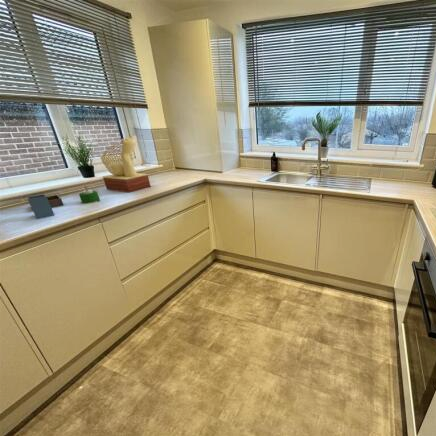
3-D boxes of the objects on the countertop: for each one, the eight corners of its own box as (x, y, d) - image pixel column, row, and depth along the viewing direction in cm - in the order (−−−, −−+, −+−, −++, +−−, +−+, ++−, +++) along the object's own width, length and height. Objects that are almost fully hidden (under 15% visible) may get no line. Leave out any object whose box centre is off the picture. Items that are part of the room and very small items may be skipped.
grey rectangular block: (36, 219, 116) (27, 199, 112) (35, 216, 120) (26, 197, 116) (54, 215, 120) (46, 196, 117) (52, 212, 124) (44, 194, 120)
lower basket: (33, 212, 125) (29, 204, 123) (31, 207, 132) (27, 199, 131) (64, 206, 134) (61, 198, 132) (60, 202, 141) (57, 194, 139)
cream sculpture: (152, 186, 171) (139, 135, 158) (128, 193, 156) (112, 136, 143) (129, 184, 180) (115, 135, 167) (104, 190, 165) (86, 136, 152)
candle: (82, 201, 141) (76, 185, 137) (99, 198, 145) (94, 182, 142) (81, 205, 135) (75, 187, 131) (100, 202, 139) (94, 185, 135)
